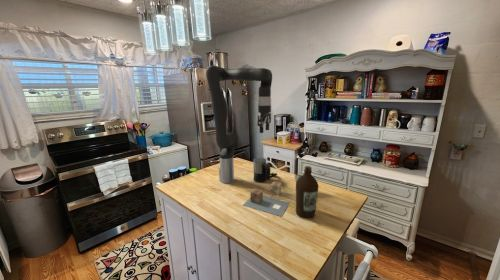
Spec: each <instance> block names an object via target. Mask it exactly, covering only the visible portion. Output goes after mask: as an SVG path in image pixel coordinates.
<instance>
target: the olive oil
mask: <svg viewBox="0 0 500 280" xmlns="http://www.w3.org/2000/svg"><path fill="white" fill-rule="evenodd" d="M301 175H302V176H301V177H300V178H299V179H298V180H297V182H296V181H295V214H296V216H298V218H299V217H300V218H301V219H303V220H309V219H311V220H312V219H313V218H315V215H316V210H317V201H318V194H319V184H318V181H317V179H316V178H314V177H315V176H313V175H312V166H308V165H305V166H304V173H303V174H301Z"/></svg>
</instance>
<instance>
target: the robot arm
mask: <svg viewBox="0 0 500 280" xmlns="http://www.w3.org/2000/svg"><path fill="white" fill-rule="evenodd" d="M205 74H206V75H205V77H206V80H207V85H208V88H209V94H210V99H211V106H212V107H211V108H212V113H213V119H214V126H215V127H214V129H215V142H216V144H217V146H218V148H220V149H221V151H220V152H219V167H218V175H219V176H218V177H219V181H220V182H221V183H222V184H230V183H233V182H234V181H235V166H234V165H235V164H234V163H235V162H234V154H235V137H234V135H233V134H232V133H230V132H227V130H226V124H227V120H228V117H229V116H228V112H229V110H228V104H227V100H226V97H225V96H224V93H223V92H222V89H221V83H220V82H223V81H231V80H232V81H241V82H242V81H243V82H253V81H254V82H255V81H256V82H260V86H259V87H258V98H257V99H258V101H257V106H258V107H257V109H258V110H257V112H258V113H259V114H260V115H257V127H259V134H263V133H264V126H265V131H270V124H271V123H272V113H271V112H272V98H271V95H272V92H271V91H272V89H271V88H272V83H273V73H272V71H271V70H270V69H268V68H264V67H260V68H258V67H256V68H244V67H243V68H233V69H232V68H225V67H221V66H218V65H212V64H211V65H209V66H207V68H206V71H205Z"/></svg>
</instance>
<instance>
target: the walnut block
mask: <svg viewBox="0 0 500 280" xmlns="http://www.w3.org/2000/svg"><path fill="white" fill-rule="evenodd" d="M249 193H250V194H249V195H250V197H249V198H250V202H252V203H255V204H259V203H260V202H262V201H263V196H264V191H263V190H262V189H259V188H253V189H252V190H251V191H250V192H249Z"/></svg>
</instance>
